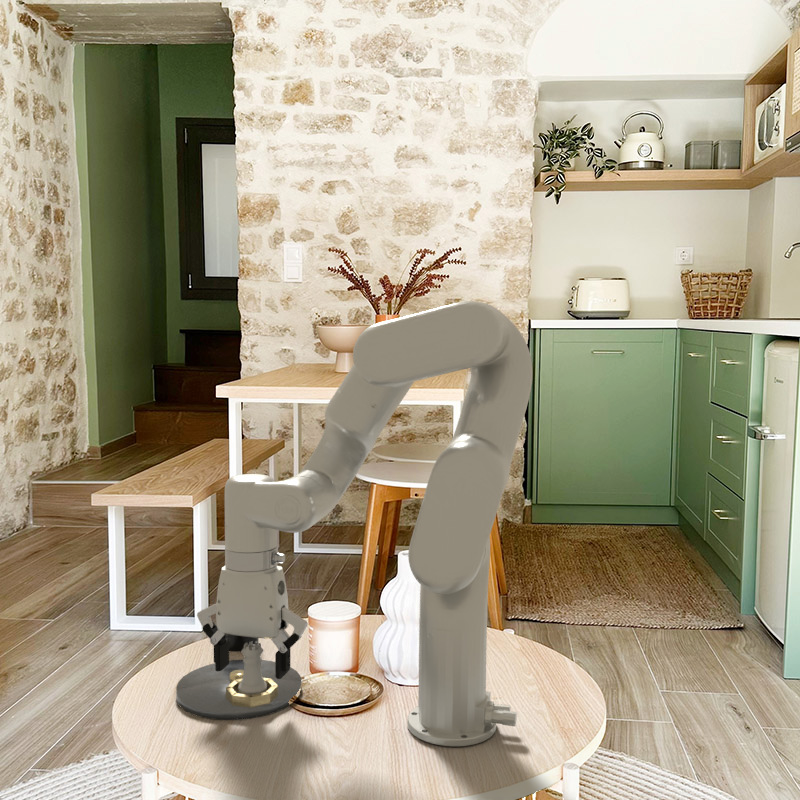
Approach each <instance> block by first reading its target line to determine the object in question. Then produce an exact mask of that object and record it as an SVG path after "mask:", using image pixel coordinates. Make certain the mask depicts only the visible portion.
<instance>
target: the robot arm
mask: <svg viewBox="0 0 800 800" xmlns="http://www.w3.org/2000/svg"><path fill="white" fill-rule="evenodd" d="M352 351H353V352H352V361H353V364H352V366H351V367H350V369H349V371H348V372H347V374H346V375H345V376H344V379H343V380H342V381H341V384H340V385H339V386H338V388H337V389H336V391H335V393H334V394H333V396H332V397H331V399H330V400H329V402H328V403H327V405H326V408H325V412H324V418H325V426H324V430H323V432H322V436H321V438H320V440H319V442H318V444H317V446H316V447H315V449H314V450H313V452H312V453H311V455H310V456H309V458H308V459H307V462H306V463H305V465H303V468H302V469H301V471H300V472H299V473H298V474H295V475H294V476H292V477H290V478H287V479H284V480H280V481H275V478H273V477H272V476H269V475H266V474H261V473H245V474H237V475H234V476H231V477H230V478H228V479H227V480H226V482H225V485H224V559H225V561H224V566H222V567H221V569H220V570H221V571H220V575H219V579H218V584H217V593H216V603H214V604H212V605H210V606H207V607H205V608H203V609H201V610H200V611H198V612H197V613H196V616H197V618H198V621H199V623H200V625H201V626H202V631H203V632H204V633H205V635H206V636H207V637H208V639H209V643H210V644H211V645H212V646H213V664H214V663H215V670H216V671H221V670H222V669H224V668H225V667H226V666H227V665H229V661H230V651H229V641H228V639H226V636H227V635H228V634H229V635H237V636H245V637H254V638H258V639H264V640H268V639H269V640H271V641H272V643H273V644H274V646H275V647H276V648H277V651H276V652H275V660H274V662H275V677H276V678H277V679H281V678H282V677H283V676H284V675H285V674H286V673H287V672H288V671H289V670H290V667H291V649H292V647H293V646H294V645H295V644H296V643H297V642H298V641H299V640H301V638H302V636H303V635H304V634H305V633H304V632H305V630H306V628H307V627H308V621H307V620H305V619H304V618H303V617H301V616H300V615H298V614H296V613H295V612H293V611H292V610H290V609H289V600H288V599H289V598H288V597H289V596H288V591H287V590H288V588H287V584H286V583H287V582H286V577H285V572H284V570H283V567H282V566H281V565H279V564H284V563H285V561H286V554H285V553H281V552H279V547H278V544H277V543H278V542H277V541H278V531H281V532H285V533H294V534H295V533H301V532H305V531H306V530H307V531H308V530H309V529H311V527H312V526H314V525H316V524H317V523H318V522H320V521H321V520H322V519H323V518H326V516H328V515H329V514H330V513H331V512H332V511H333V510H334V509H335V507H336V506H337V505H338V503H339V502H340V500H341V498H342V497H343V496H344V494H345V492H346V491H347V490H348V489H349V487H350V485H351V483H353V481H354V479H355V477H356V476H357V475H358V473H359V471H360V470H361V468H362V467H363V464H364V462H365V460H366V459H367V457H368V456H369V454H370V452H371V451H372V449H373V447H374V446H375V444H376V442H377V440H378V439H379V437H380V435H381V433H382V432H383V430H384V428H385V427H386V425H387V424H388V422H389V421H390V419H391V418H392V417H393V414H394V413H395V412H396V410H397V409H398V407H399V406H400V404H401V402H402V401H403V399H404V398H405V396H406V395H407V394H408V392H409V390H410V389H411V387H412V386H413V384H415V382H416V381H417V382H418V381H421V380H424V379H425V380H426V379H430V378H434V377H439V376H442V375H445V374H450V373H454V372H459V371H462V370H466V369H467V370H468V369H470V380H469V384H468V388H467V391H466V394H465V396H464V399H463V402H462V406H461V407H462V408H461V410H460V415H459V418H458V422H457V424H456V428H455V431H454V433H453V436H452V439H451V441H450V443H449V444H448V445H447V447H446V448H445V449H444V450H443V451H442V452H441V453H440V454H439V455H438V457H437V458H436V461H435V463H434V465H433V467H432V470H431V472H430V476H429V478H428V482H427V485H426V488H425V491H424V495H423V497H422V498H423V499H422V501H421V505H420V508H419V511H418V515H417V517H416V518H417V519H416V522H415V524H414V525H415V526H414V528H413V532H412V536H411V539H410V542H409V548H408V554H407V555H408V564H409V568H410V570H411V571H410V572H411V573H412V576H413V577H414V578H415V580H416V581H417V582H418V583H419V584H420V585H419V586H420V589H419V591H420V592H419V618H418V619H419V620H418V621H419V622H418V624H419V625H418V627H419V629H418V705H417V706H416V707H414V708H413V709H412V710H411V711H410V712H409V713H408V715H407V723H406V724H407V728H408V730H409V732H410V733H411V734H412V735H413V736H415V737H416V738H418V739H419V740H421V741H423V742H426V743H428V744H433V745H437V746H443V747H467V746H472V745H476V744H480V743H483V742H484V741H487V740H488V739H490V738H491V737H492V736H493V735H494V734H495V733H496V729H497V724H498V725H502V726H509V727H516V726H517V717H518V716H517V713H518V712H517V711H512V710H511V705H510V704H509V705H508V704H503V703H502V704H499V703H498V704H497V703H495V702H494V701H491V691H487V637H488V635H487V634H488V631H487V630H488V627H487V626H488V603H489V602H488V599H489V597H488V596H489V578H490V577H489V575H490V560H491V559H490V558H491V537H490V536H491V532H492V529H493V526H494V524H495V523H494V522H495V520H496V517H497V514H498V509H499V507H500V503H501V500H502V497H503V495H504V491H505V489H506V487H507V485H508V482H509V479H510V474H511V473H510V472H511V466H512V462H513V457H514V454H515V449H516V447H517V443H518V439H519V438H520V433H521V430H522V426H523V421H524V418H525V414H526V411H527V407H528V403H529V399H530V396H531V390H532V384H533V364H532V356H531V353H530V350H529V347H528V344H527V342H526V340H525V337H524V336H523V334H522V333H521V331H520V329H519V328H517V326H516V325H515V323H514V322H513V321H511V319H509V317H507V315H505V314H504V313H503V312H502V311H500V310H499V309H498V308H497V307H495V306H493V305H491V304H488V303H485V302H479V301H474V300H466V301H465V300H464V301H458V302H455V303H451V304H448V305H443V306H440V307H437V308H433V309H428V310H426V311H420V312H419V313H418V312H417V313H414V314H410V315H406V316H403V317H399V318H394V319H390V320H384V321H380V322H377V323H375V324H372V325H370V326H368V327H366V328H365V329H364V330H363V331H362V332H361V333H360V335H359V336H358V337H357V339H356V341H355V344H354V345H353V350H352ZM213 615H215V622H213V621H212V616H213ZM289 625H291V626H292V627H293V631H292V634H291V635H290V634H289V633H288V632H287V631H286V629H288V628H289Z"/></svg>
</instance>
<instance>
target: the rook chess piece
mask: <svg viewBox="0 0 800 800" xmlns="http://www.w3.org/2000/svg"><path fill="white" fill-rule="evenodd" d="M240 652H241V654H242V655H243V656H244V657H243V659H244V660H243V659H242V660H243V663H244V674H243V679H242V680H241V683H240V685H239V687H238V690H239V693H238V694H246V695H254V694H259V693H264V692H266V691H267V690H266V689H267V684H266V682H265V681H264V678H263V677H262V672H261V661H262V660H263V659H262V658H261V655H262V654H263V652H264V648H263V647H262V644H261V642H259V641H258V642H255V644H253V641H252V642H249V645H248V643H245V645H244V648H243V649H242V651H240Z"/></svg>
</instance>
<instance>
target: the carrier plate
mask: <svg viewBox="0 0 800 800" xmlns="http://www.w3.org/2000/svg"><path fill="white" fill-rule="evenodd" d="M243 660H244V658H242V659H231V660H229V665H227V666H226V667H225V668H224V669H222V670H221V671H216V670H215V663H214V662H213V663H211V664H207V665H204V666H201V667H198V668H196V669H194V670H192V671H190V672H188V673H187V674H185V675H184V676H183V677H181V679H180V680H178V683H177V684H176V687H175V689H176V691H175V693H176V698H177V699H176V698H175V699H176V702H178V703H177V705H178V704H179V705H180V706H181V707H180V706H179V705H178V706H179V707H180V708H181V709H182V708H183V709H184V711H185V712H186V713H188V712H189V713H188V714H190V713H191V715H194V716H196V715H197V717H199V716H200V717H199V718H203V719H210V720H220V721H221V720H222V721H236V720H237V721H238V720H247V719H249V720H250V719H254V718H260V717H264V716H268V715H271V714H274V713H277V712H280V711H281V710H284V709H286V708H288V707H290V706H291V705H289V703H288V702H289V700H290V699H291V698H292V697H293V696H294V695H296V694H297V692H298V691H299V689H300V687H301V688H302V677H301V675H300V673H299V672H298V671H297V670H295V669H294V668H292V666H290V670H289V671H288V672H287V673H286V674H285V675H284V676H283V677H282V678H281V679H277V678H276V677H275V661H271V660H267V659H265V660H264V659H262V661H261V672H262V677H263V678H264V681H265V682H266V684H267V689H266V690H267V691H266V692H264V693H259V694H254V695H246V694H238V693H239V690H238V687H239V685H240V683H241V680H242V679H243V674H244V663H243ZM183 709H182V710H183Z"/></svg>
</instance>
